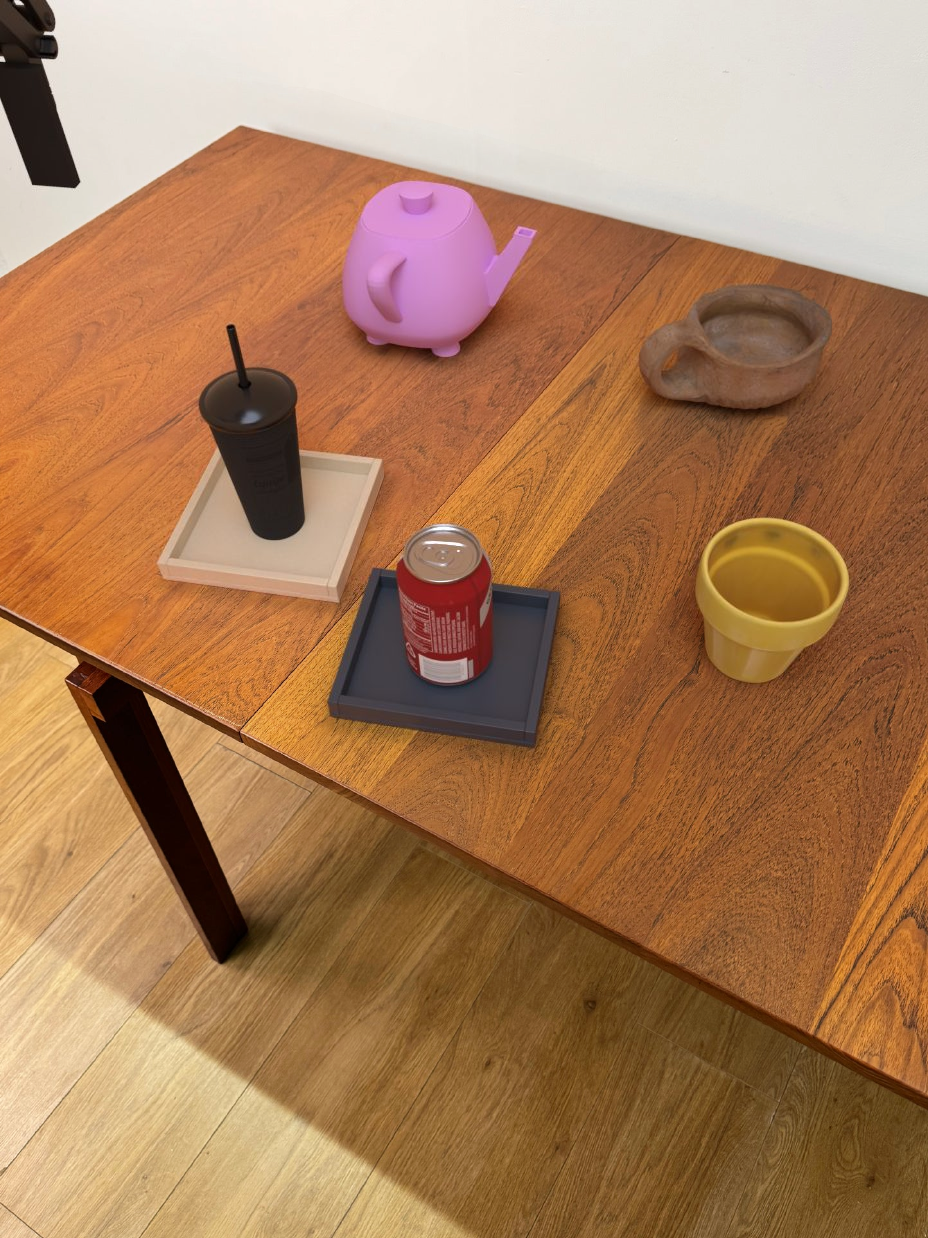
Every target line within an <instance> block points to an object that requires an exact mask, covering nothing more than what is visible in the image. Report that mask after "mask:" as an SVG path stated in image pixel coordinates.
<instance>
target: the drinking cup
mask: <svg viewBox="0 0 928 1238" xmlns="http://www.w3.org/2000/svg"><path fill="white" fill-rule="evenodd" d="M236 328H237V327H236V325H235V324H233V323H230V324H227V325H226V326H225V330H226V333H227V338H228V342H229V346H230V349H231V353H232V357H233V362H234V366H235V369H233V370H230V371H227V372H225V373H222V374H220V375H219V376H217V377H215V378H214V379H212V380H211V381H210V382H208V383H207V384H206V386H205V387H204V388H203V389H202V391H201V393H200V395H199V398H198V403H197V404H198V410H199V414H200V416H201V418H202V419H203V421H204V422H205V423H206V424H207V425H208V427H209V429H210V432H211V434H212V437H213V439H214V443H215V444H216V447H218V449H219V451H220V454H221V456H222V459H223V461H224V463H225V466H226V468H227V471H228V473H229V476H230V478H231V480H232V483H233V485H234V488H235V490H236V493H237V495H238V497H239V500H240V502H241V505H242V507H243V510H244V512H245V514H246V517H247V519H248V522H249V524H250V527H251V529H252V531H253V532H254V533H255V534H256V535H257V536H259V537H260V538H263V539H266V540H282V539H286V538H289V537H291V536H293V535H294V534H296V533H297V532H298V531H299V530H300V529H301V528H302V526H303V524H304V521H305V512H304V500H303V489H302V477H301V466H300V455H299V449H300V445H299V443H300V442H299V433H298V432H299V431H298V421H297V411H296V406H297V404H298V398H299V397H298V390H297V386H296V384H295V382H294V381H293V380H292V378H290V377H289V376H288V375H287V374H286V373H284V372H282V371H279V370H277V369H275V368H269V367H263V366H248V367H247V366H246V365H245V361H244V357H243V352H242V349H241V343H240V340H239V336H238V332H237V329H236Z"/></svg>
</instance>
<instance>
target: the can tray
mask: <svg viewBox="0 0 928 1238" xmlns="http://www.w3.org/2000/svg"><path fill="white" fill-rule="evenodd" d="M560 604H561V591H559V590H550V589H541V588H534V587H526V586H520V585H519V586H518V585H511V584H503V583H495V582H492V626H493V654H492V658H491V661H490V663H489V665H488V667H487V668H486V669H485V671H484V672H483V673H482V674H480V675H479V676H478V677H477V678H475V679H473V680H471V681H469V682H467V683H464V684H460V685H454V686H442V685H436V684H433V683H430V682H427V681H425V680H423V679H422V678H420V677H419V676H418V675H417V674H416V673H415V672H414V671H413V670H412V669H411V667H410V665H409V663H408V661H407V657H406V649H405V641H404V633H403V625H402V617H401V609H400V601H399V593H398V585H397V577H396V569H387V568H381V567H372V569H371V571H370V574H369V577H368V580H367V584H366V585H365V589H364V592H363V595H362V598H361V600H360V603H359V607H358V610H357V613H356V615H355V618H354V621H353V625H352V628H351V630H350V633H349V635H348V640H347V642H346V645H345V648H344V651H343V654H342V656H341V660H340V663H339V666H338V668H337V673H336V675H335V678H334V680H333V684H332V687H331V690H330V692H329V695H328V699H327V706H328V711H329V714H330V717H331V718H335V719H341V720H347V721H355V722H360V723H368V724H375V725H381V726H388V727H394V728H400V729H407V730H412V731H413V730H414V731H420V732H427V733H433V734H439V735H446V736H451V737H452V736H453V737H459V738H467V739H473V740H480V741H486V742H492V743H499V744H505V745H512V746H518V747H524V748H531V749H535V747H536V743H537V737H538V733H539V724H540V720H541V715H542V708H543V704H544V698H545V690H546V685H547V680H548V674H549V670H550V663H551V657H552V653H553V646H554V640H555V635H556V629H557V624H558V618H559V612H560V606H561V605H560Z"/></svg>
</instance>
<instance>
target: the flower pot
mask: <svg viewBox="0 0 928 1238" xmlns="http://www.w3.org/2000/svg"><path fill="white" fill-rule="evenodd" d="M849 588H850V575H849V570H848V567H847V565H846V562H845V560H844V558H843V556H842V555H841V553H840V552H839V550H838V549H837V548H836V547H835V546H834V544H832V543H831V541H829V540H828V539H826V538H825V537H824V536H823V535H821V534H820V533H818V532H817V531H815V530H813V529H812V528H809V527H808V526H806V525H803V524H800V523H797V522H795V521H791V520H786V519H783V518H776V517H775V518H774V517H754V518H747V519H746V518H745V519H742V520H739V521H735V522H733V523H731V524H728V525H727V526H725V527H723V528H722V529H720V530H719V531H718V532H716V533H715V534H714V535H713V536H712V537H711V539H709V541H708V542H707V544H706V545H705V547H704V549H703V551H702V554H701V557H700V561H699V564H698V568H697V574H696V580H695V589H694V590H695V591H694V592H695V600H696V603H697V606H698V609H699V611H700V613H701V614H702V617H703V630H704V648H705V652H706V654H707V657H708V659H709V662H711V664H712V665H713V666H714V667H715V668H716V669H717V670H718V671H720V673H722V674H723V675H725V676H726V677H728V678H731V679H733V680H736V681H739V682H743V683H749V684H760V683H767V682H770V681H772V680H774V679H776V678H778V677H780V676H781V675H783V673H784V672H785V671H786V670H787V669H788V668H789V667H790V666H791V664H792V663H793V662H794V661H795V660H796V659H797V657H798V656H799V655H800V654H801V653H802V652H803V650H804V649H805V648H808V647H810V646H811V645H813V644H815V643H817V642H818V641H819V640H821V639H822V638H824V637H825V636H826V634H827V633H828V632H829V631H830V630H831V628H832V627H833V625H834V623H835V621H836V620H837V618H838V616H839V614H840V612H841V610H842V608H843V605H844V603H845V600H846V598H847V595H848V593H849Z"/></svg>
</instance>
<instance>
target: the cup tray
mask: <svg viewBox="0 0 928 1238" xmlns="http://www.w3.org/2000/svg"><path fill="white" fill-rule="evenodd" d="M299 455H300V466H301V477H302V489H303V500H304V512H305V521H304V524H303V526H302V528H301V529H300V530H299V531H298V532H297V533H296V534H294V535H293V536H291V537H289V538H286V539H282V540H266V539H263V538H260V537H259V536H257V535H256V534H255V533H254V532H253V531H252V529H251V527H250V524H249V522H248V519H247V517H246V514H245V512H244V510H243V507H242V505H241V502H240V500H239V497H238V495H237V493H236V490H235V488H234V485H233V483H232V480H231V478H230V476H229V473H228V471H227V468H226V466H225V463H224V461H223V459H222V456H221V454H220V451H219V449H218V446H216V448H215V450H214V452H213V455H212V456H211V458H210V460H209V462H208V464H207V465H206V467H205V469H204V471H203V473H202V475H201V477H200V479H199V481H198V483H197V485H196V486H195V489H194V491H193V493H192V495H191V496H190V499H189V501H187V504H186V506H185V508H184V510H183V512H182V514H181V516H180V518H179V519H178V521H177V523H176V525H175V527H174V529H173V531H172V533H171V534H170V537H169V539H168V540H167V543H166V544H165V547H164V548H163V550H162V552H161V554H160V556H159V558H158V560H157V562H156V565H157V567H158V570H159V572H160V574H161V577H162V579H163V580H165V581H166V580H167V581H173V582H181V583H188V584H189V583H190V584H196V585H203V586H211V587H219V588H225V589H226V588H227V589H234V590H240V591H248V592H256V593H263V594H269V595H278V596H285V597H292V598H299V599H307V600H314V601H322V602H329V603H337V604H339V603H340V602H341V599H342V597H343V594H344V590H345V589H346V585H347V582H348V580H349V578H350V574H351V572H352V568H353V566H354V563H355V560H356V557H357V554H358V552H359V549H360V546H361V543H362V540H363V537H364V535H365V532H366V529H367V526H368V523H369V521H370V517H371V515H372V512H373V509H374V507H375V504H376V502H377V499H378V495H379V492H380V490H381V487H382V485H383V482H384V478H385V468H384V460H383V459H382V458H376V457H369V456H360V455H352V454H343V453H335V452H325V451H317V450H307V449H300V448H299Z"/></svg>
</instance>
